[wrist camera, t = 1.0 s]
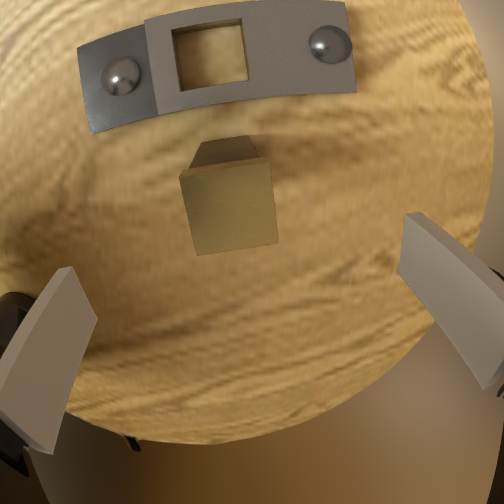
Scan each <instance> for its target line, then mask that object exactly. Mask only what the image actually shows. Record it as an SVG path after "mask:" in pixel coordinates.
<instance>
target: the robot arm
mask: <svg viewBox="0 0 504 504" xmlns="http://www.w3.org/2000/svg"><path fill="white" fill-rule="evenodd" d="M398 274H399V275H400V276H401V277H402V279H403V280H404V281H405V282H406V284H407V285H408V286H409V287H410V288H411V290H412V291H413V292H414V293H415V295H416V296H417V297H418V298H419V300H420V301H421V302H422V303H423V305H424V306H425V307H426V309H427V310H428V311H429V313H430V314H431V315H432V316H433V318H434V319H435V320H436V322H437V323H438V324H439V326H440V327H441V328H442V330H443V331H444V333H445V334H446V335H447V337H448V338H449V339H450V341H451V342H452V344H453V345H454V346H455V348H456V349H457V351H458V352H459V354H460V355H461V356H462V358H463V359H464V361H465V362H466V364H467V365H468V367H469V368H470V370H471V371H472V373H473V374H474V376H475V377H476V379H477V381H478V382H479V384H480V385H481V387H482V388H483V390H484V389H486V388H487V387H489V386H491V385H492V384H494V383H496V382H497V381H498V380H499V379H500V378H501V377H502V375H503V374H504V277H503V276H502V275H501V274H500V273H498V272H496V271H495V270H493V269H491V268H490V267H488V266H486V265H485V264H484V263H483V262H482V261H481V260H480V259H479V258H477V257H476V256H475V255H474V254H473V253H472V252H470V251H469V250H468V249H467V248H466V247H464V246H463V245H462V244H461V243H460V242H458V241H457V240H456V239H455V238H453V237H452V236H451V235H450V234H448V233H447V232H446V231H445V230H443V229H442V228H441V227H439V226H438V225H437V224H436V223H434V222H433V221H432V220H430V219H429V218H428V217H426V216H425V215H424V214H422V213H421V212H417V213H409V214H405V222H404V231H403V239H402V247H401V254H400V261H399V267H398ZM97 321H98V318H97V316H96V314H95V312H94V310H93V308H92V306H91V304H90V302H89V300H88V298H87V296H86V294H85V292H84V290H83V288H82V286H81V284H80V281H79V279H78V277H77V275H76V273H75V270H74V268H73V266H70V267H65V268H59V269H58V270H57V271H56V273H55V274H54V275H53V277H52V278H51V280H50V281H49V282H48V284H47V285H46V287H45V288H44V289H43V291H42V292H41V294H40V295H39V297H38V298H37V300H34V299H32V298H30V297H28V296H26V295H23V294H19V293H7V294H4V295H3V296H1V297H0V504H50V503H49V501H48V499H47V497H46V495H45V492H44V490H43V488H42V486H41V483H40V481H39V478H38V476H37V473H36V471H35V468H34V466H33V463H32V460H31V457H30V455H29V453H28V450H29V447H28V446H29V445H30V446H31V447H32V448H34V449H35V450H37V451H40V452H44V453H48V454H52V455H53V451H54V447H55V443H56V439H57V436H58V432H59V428H60V425H61V422H62V418H63V415H64V411H65V408H66V405H67V402H68V399H69V396H70V393H71V390H72V387H73V384H74V381H75V378H76V375H77V372H78V369H79V367H80V364H81V361H82V359H83V356H84V353H85V351H86V348H87V346H88V343H89V340H90V338H91V335H92V333H93V331H94V328H95V326H96V323H97ZM503 391H504V384H503V386H502V387H501V388H500V390H499V391H498V394H497V397H500V395H501V394H502V393H503ZM503 398H504V396H503ZM487 504H504V425H503V432H502V439H501V445H500V451H499V456H498V461H497V466H496V470H495V475H494V479H493V483H492V486H491V490H490V494H489V497H488V501H487Z"/></svg>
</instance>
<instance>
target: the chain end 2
mask: <svg viewBox="0 0 504 504" xmlns="http://www.w3.org/2000/svg"><path fill="white" fill-rule="evenodd" d="M240 21H241V24H242V31H243V38H244V44H245V51H246V58H247V65H248V72H249V79H250V81H243V82H235V83H228V84H221V85H215V86H209V87H203V88H198V89H193V90H187V91H183V92H182V89H181V83H180V77H179V70H178V64H177V57H176V50H175V43H174V36H173V32H178V31H182V30H187V29H192V28H198V27H204V26H210V25H216V24H223V23H231V22H240ZM144 23H145V32H146V39H147V47H148V54H149V61H150V67H151V74H152V80H153V86H154V92H155V98H156V104H157V110H158V115H163V114H167V113H172V112H177V111H181V110H186V109H191V108H196V107H202V106H207V105H213V104H219V103H226V102H232V101H239V100H247V99H255V98H264V97H274V96H286V95H300V94H321V93H357V92H356V81H355V71H354V62H353V54H352V42H351V39H350V32H349V26H348V20H347V14H346V8H345V3H344V2H338V1H324V0H262V1H247V2H237V3H228V4H220V5H213V6H206V7H200V8H194V9H189V10H184V11H179V12H175V13H170V14H166V15H162V16H158V17H154V18H150V19H146V20H144Z"/></svg>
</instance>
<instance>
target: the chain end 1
mask: <svg viewBox="0 0 504 504" xmlns="http://www.w3.org/2000/svg"><path fill="white" fill-rule="evenodd" d="M232 25H240V26H241V33H242V39H243V46H244V53H245V60H246V67H247V74H248V81H250V79H249V72H248V65H247V58H246V51H245V44H244V38H243V31H242V24H241V21H240V22H231V23H223V24H216V25H210V26H204V27H198V28H192V29H187V30H182V31H178V32H173V36H174V43H175V50H176V57H177V64H178V70H179V77H180V83H181V89H182V92H183V84H182V78H181V72H180V65H179V59H178V52H177V45H176V38H175V35H178V34H183V33H188V32H193V31H198V30H204V29H210V28H217V27H224V26H232ZM77 55H78V63H79V70H80V77H81V84H82V90H83V96H84V102H85V107H86V113H87V118H88V123H89V128H90V132H91V135H92V134H95V133H98V132H101V131H104V130H107V129H110V128H114V127H117V126H120V125H124V124H127V123H131V122H135V121H138V120H142V119H146V118H150V117H154V116H158V110H157V104H156V98H155V92H154V86H153V80H152V74H151V67H150V61H149V54H148V47H147V39H146V32H145V24H143V25H139V26H136V27H132V28H129V29H126V30H123V31H120V32H117V33H114V34H111V35H108V36H105V37H103V38H100V39H97V40H95V41H92V42H90V43H87V44H85V45H82V46H80V47H78V48H77Z"/></svg>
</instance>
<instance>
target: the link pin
mask: <svg viewBox="0 0 504 504" xmlns="http://www.w3.org/2000/svg"><path fill="white" fill-rule="evenodd" d="M179 180H180V185H181V189H182V194H183V198H184V203H185V207H186V212H187V216H188V220H189V225H190V229H191V233H192V237H193V241H194V245H195V249H196V253H197V256H200V255H206V254H213V253H219V252H225V251H232V250H238V249H244V248H251V247H257V246H264V245H270V244H276V243H278V233H277V223H276V213H275V203H274V194H273V185H272V176H271V167H270V162H269V160H268V159H267V158H266V157H260V155H259V154H258V152H257V151H256V149H255V147H254V146H253V144H252V143H251V141H250V139H249V138H248V136H240V137H233V138H227V139H220V140H214V141H209V142H203V143H201V144H200V146H199V149H198V151H197V153H196V155H195V157H194V159H193V161H192V163H191V165H190V167H189V169H187V170H183V171H182V172H181V174H180V176H179Z"/></svg>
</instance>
